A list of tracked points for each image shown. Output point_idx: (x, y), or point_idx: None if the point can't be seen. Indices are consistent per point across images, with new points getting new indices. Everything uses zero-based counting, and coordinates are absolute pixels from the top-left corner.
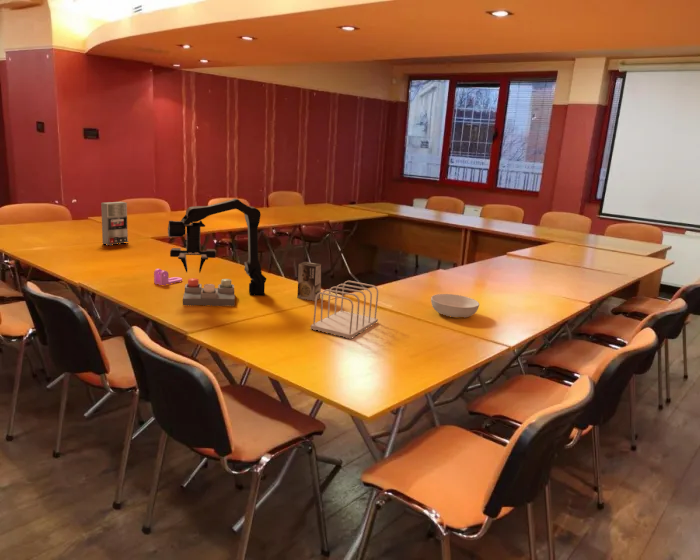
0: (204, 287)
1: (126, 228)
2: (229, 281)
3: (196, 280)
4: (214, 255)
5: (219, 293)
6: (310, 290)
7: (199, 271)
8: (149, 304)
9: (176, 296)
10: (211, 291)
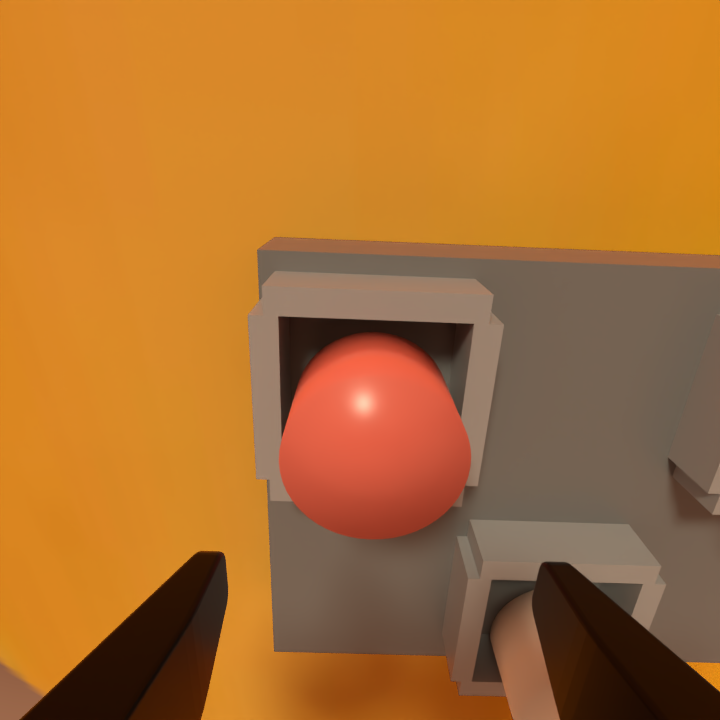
0: (512, 714)
1: None
2: None
3: (430, 512)
4: None
5: (667, 505)
6: None
7: (545, 651)
8: (5, 562)
9: (184, 327)
10: None
